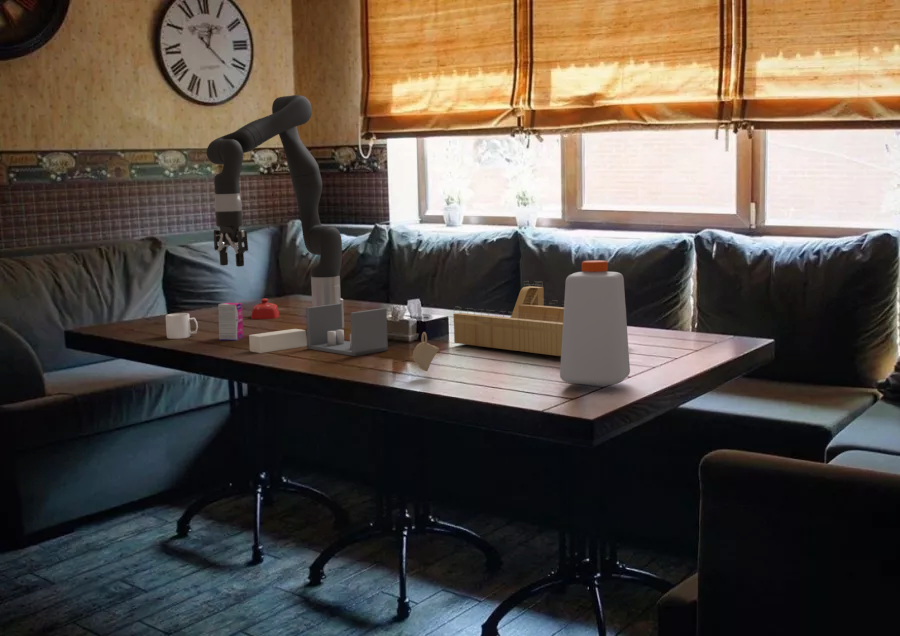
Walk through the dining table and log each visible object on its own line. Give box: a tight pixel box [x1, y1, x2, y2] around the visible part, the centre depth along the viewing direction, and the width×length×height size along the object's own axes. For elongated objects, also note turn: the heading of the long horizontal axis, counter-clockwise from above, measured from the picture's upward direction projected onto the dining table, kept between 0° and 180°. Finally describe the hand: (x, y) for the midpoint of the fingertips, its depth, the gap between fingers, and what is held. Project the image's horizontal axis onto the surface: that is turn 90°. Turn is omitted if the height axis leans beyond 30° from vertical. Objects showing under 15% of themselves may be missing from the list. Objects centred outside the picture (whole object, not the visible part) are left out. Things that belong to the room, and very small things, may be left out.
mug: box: [165, 312, 199, 340], centre depth 321 cm, size 10×7×8 cm
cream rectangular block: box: [248, 328, 307, 354], centre depth 296 cm, size 16×6×5 cm, turn 133°
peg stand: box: [305, 304, 389, 357], centre depth 290 cm, size 22×12×12 cm, turn 45°
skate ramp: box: [452, 280, 564, 357], centre depth 293 cm, size 40×35×16 cm
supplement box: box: [218, 302, 244, 342], centre depth 314 cm, size 6×6×12 cm
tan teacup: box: [412, 331, 440, 372], centre depth 254 cm, size 4×8×5 cm
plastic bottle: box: [559, 259, 631, 386], centre depth 238 cm, size 15×15×28 cm
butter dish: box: [250, 298, 280, 320], centre depth 355 cm, size 12×12×8 cm
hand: (232, 265), depth 294 cm, fingers open, 8 cm apart
